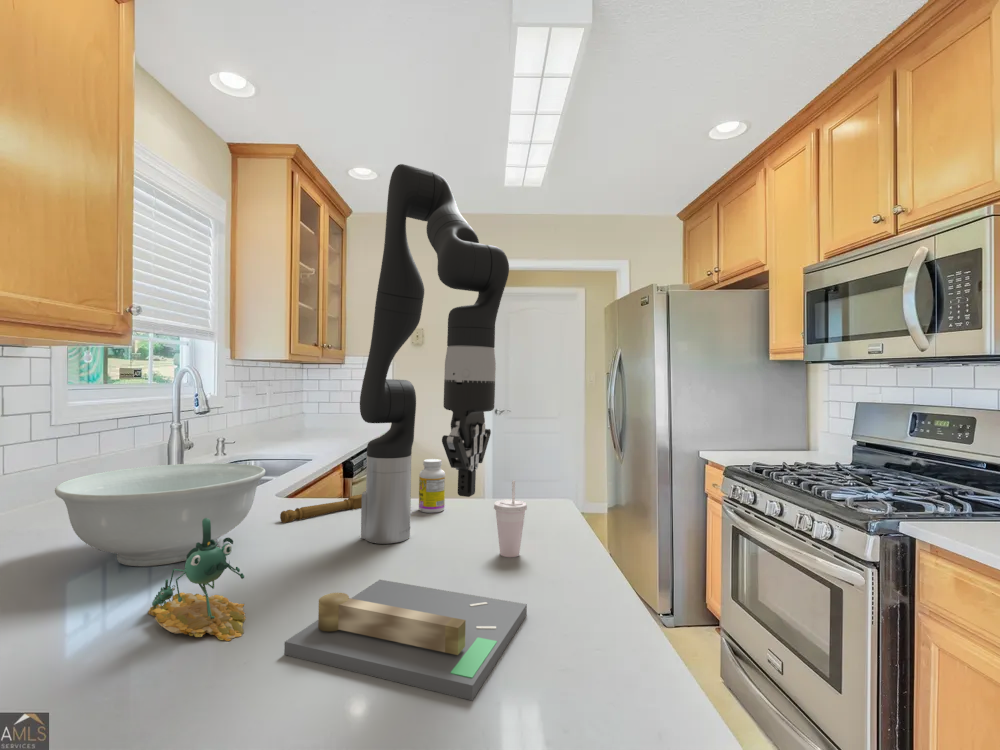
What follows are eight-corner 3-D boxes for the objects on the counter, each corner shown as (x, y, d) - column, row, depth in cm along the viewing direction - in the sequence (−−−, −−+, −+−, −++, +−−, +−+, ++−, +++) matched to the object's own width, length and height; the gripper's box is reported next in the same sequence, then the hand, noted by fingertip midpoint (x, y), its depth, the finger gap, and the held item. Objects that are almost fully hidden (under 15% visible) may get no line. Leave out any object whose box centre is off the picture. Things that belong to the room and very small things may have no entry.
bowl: (42, 552, 91) (45, 473, 91) (231, 519, 114) (232, 457, 115) (63, 607, 69) (67, 503, 69) (291, 552, 92) (293, 475, 93)
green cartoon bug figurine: (202, 592, 75) (212, 497, 74) (271, 639, 65) (283, 530, 65) (129, 615, 67) (139, 508, 66) (194, 673, 57) (207, 549, 57)
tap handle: (279, 509, 113) (385, 489, 136) (279, 522, 113) (385, 500, 136) (285, 512, 111) (392, 491, 134) (285, 525, 111) (392, 502, 134)
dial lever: (311, 628, 60) (312, 602, 60) (330, 615, 64) (331, 590, 64) (454, 659, 54) (455, 630, 54) (467, 643, 57) (468, 616, 57)
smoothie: (523, 561, 90) (524, 484, 90) (489, 558, 91) (490, 482, 91) (528, 549, 96) (529, 478, 96) (496, 547, 97) (497, 476, 98)
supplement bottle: (419, 507, 129) (420, 458, 129) (444, 506, 129) (445, 458, 130) (417, 513, 122) (418, 462, 122) (444, 513, 123) (445, 462, 123)
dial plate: (284, 654, 57) (284, 640, 58) (379, 589, 76) (379, 578, 76) (472, 700, 50) (472, 684, 50) (526, 614, 68) (526, 603, 69)
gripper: (465, 377, 79) (461, 484, 79) (425, 376, 67) (421, 502, 67) (508, 379, 77) (505, 489, 77) (475, 378, 64) (471, 509, 64)
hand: (466, 495), depth 72 cm, fingers closed
